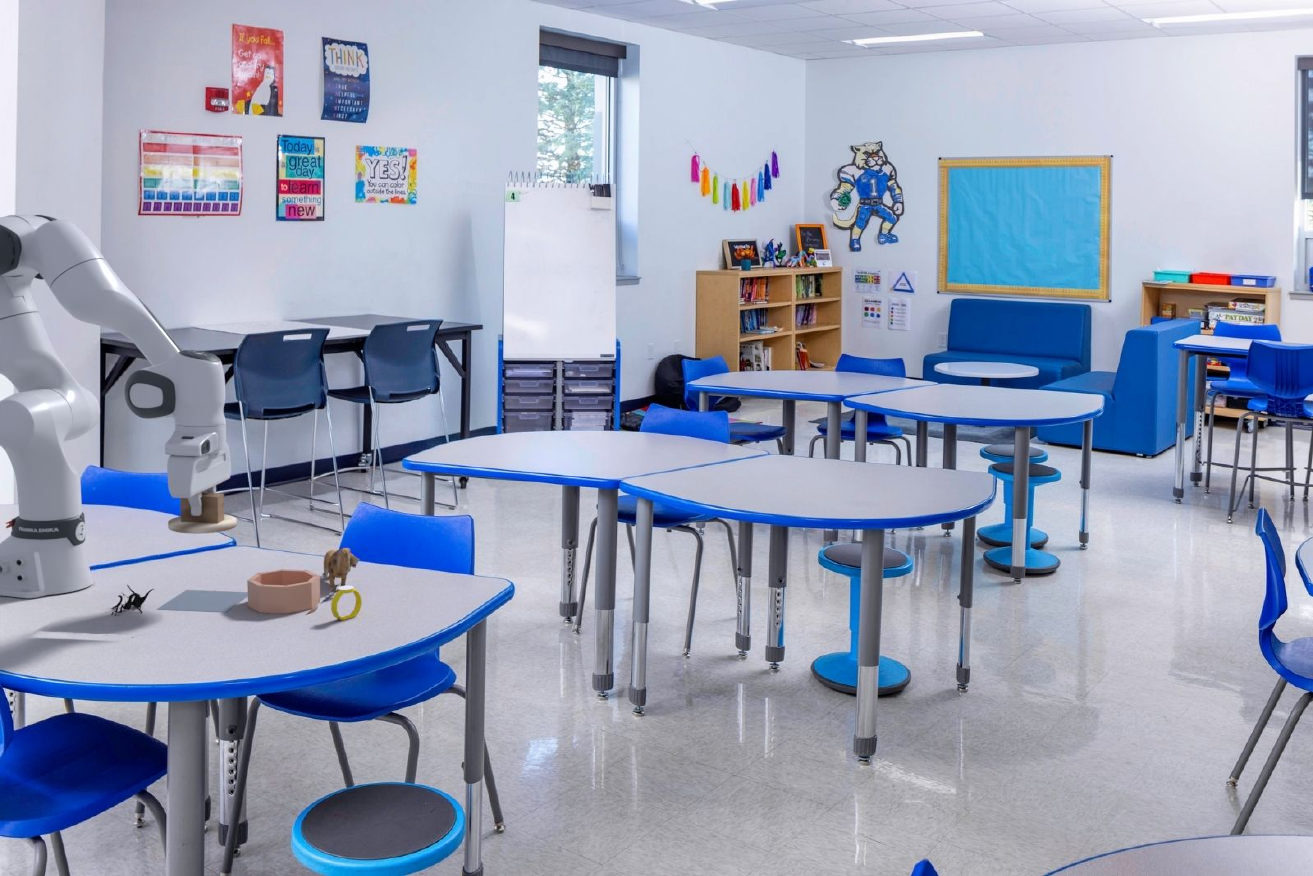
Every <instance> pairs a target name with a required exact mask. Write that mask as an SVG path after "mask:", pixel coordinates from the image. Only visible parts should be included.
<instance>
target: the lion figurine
mask: <svg viewBox="0 0 1313 876" xmlns="http://www.w3.org/2000/svg"><path fill="white" fill-rule="evenodd" d="M359 561H360V558H357V556H355V554H353V553H352V552H351V548H349V547H343V548H340V549H337V550H334V549H331V550H328V551H326V553H325V555H324V558H323V573H322V576H323V579H328V578H329V579H328V581H329V586H330V587H335V588H334V589H332V590H331V591H330V593H335V592H336V585H335V579H340V580H341V581H340V585H339V587H341V586H346V581H347V578H348V573H350V572H351V568H354V569H356V567H357V565H358V563H359ZM334 591H335V592H334Z"/></svg>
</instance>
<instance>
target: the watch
mask: <svg viewBox="0 0 1313 876" xmlns="http://www.w3.org/2000/svg"><path fill="white" fill-rule="evenodd" d="M350 593H353V594H354V597H355V605H354V609H353V610H352V611H351V613H350V614H347V615H343V616H340V614H339V611H338V602H339V601H340V599H341V596H343V595H344V594H350ZM362 604H363V601H362V595H361V594H360V592H359V591H358V590H356V589H355V587H354V586H353V585H345V586H341V587H340V586H338V590H337V592H335V594H334V596H333V597H332V600H331V605H330V609H331V613H332V615H333V616H334V617H335V618H336V619H337V620H339V621H346V620H349V619H353V618H356V617H357V615H359V613H360V611H361V608H362Z"/></svg>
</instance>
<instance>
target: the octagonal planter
mask: <svg viewBox="0 0 1313 876" xmlns="http://www.w3.org/2000/svg"><path fill="white" fill-rule="evenodd" d="M246 582H247V584H246V585H247V592H248V597H247V607H248V608H249V609H250V608H251V609H253V611H256V612H259V613H263V614H264V613H265V614H275V615H276V614H279V615H280V614H284V615H285V614H292V613H299V612H304V611H308V610H309V611H308V612H307V613H306V614H305V616H307V615H309V614H313V613H314V612H316V611H317V610H318V604H319V603H320V602H321V576H320V574H317V573H315V572H313V571H310V570H308V569H286V568H281V569H275V570H274V569H273V570H269V571H262V572H257V573H255V574H254V575H252V576H251V577H249V579H247V581H246Z"/></svg>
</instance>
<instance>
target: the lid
mask: <svg viewBox="0 0 1313 876" xmlns="http://www.w3.org/2000/svg"><path fill="white" fill-rule="evenodd" d="M200 498H201V503H202V505H204V509H203V510H204V513H203V514H201V515H200V516H193V515H192V514H191V506H190V503H189V501H188V498H179V499H180V516H176V517H174V518H171V519H169V520H168V522H167V528H168V530H170V531H171V532H175V533H180V534H194V535H195V534H213V533H221V532H225V531H230V530H232V529H234V528H236V527H237V523H238V519H237V517H235V516H233V515H228V514H225V493H216V492H215V493H203V492H202V497H200Z"/></svg>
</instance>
